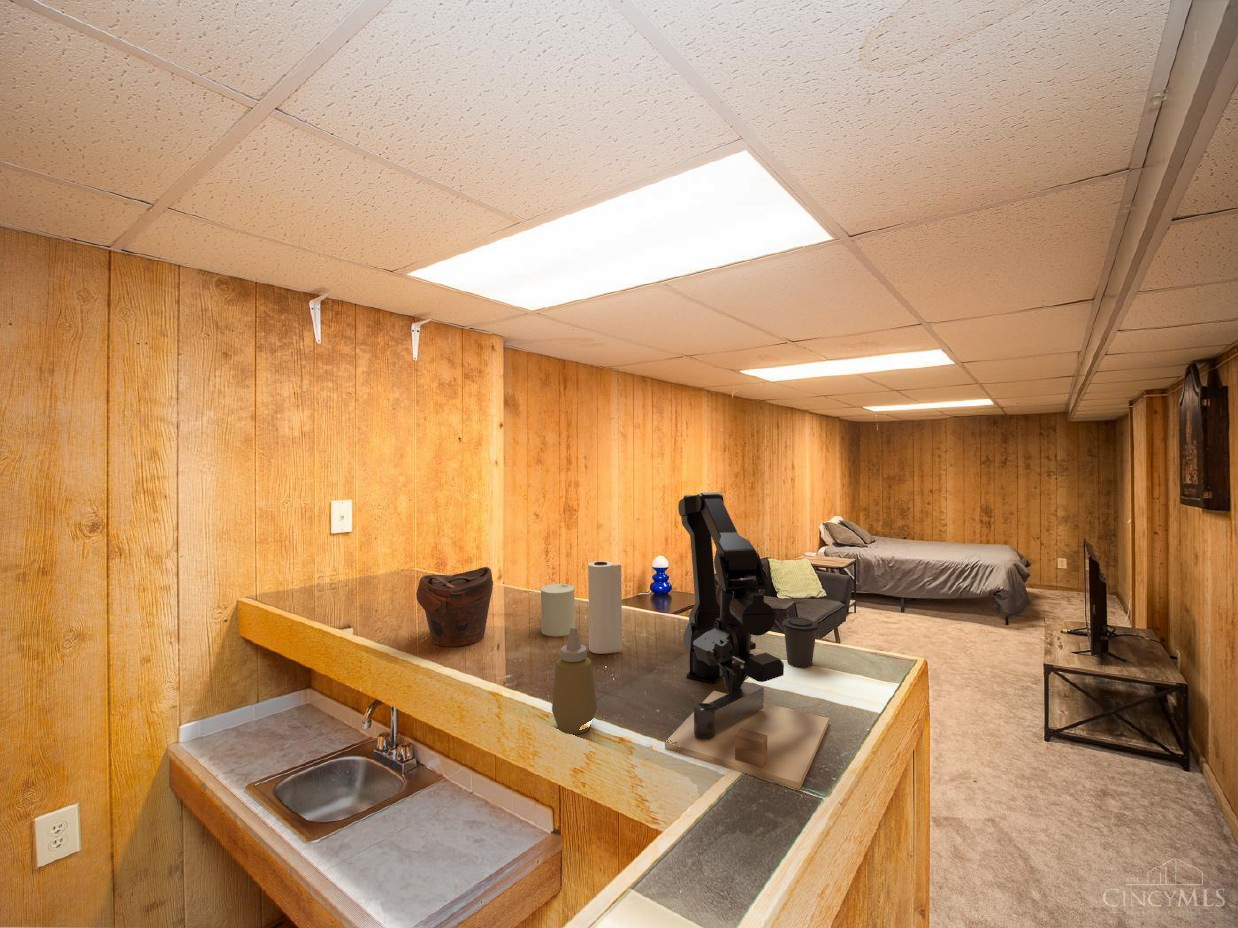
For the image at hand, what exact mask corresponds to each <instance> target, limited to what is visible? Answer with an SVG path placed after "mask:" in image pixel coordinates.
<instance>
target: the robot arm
mask: <svg viewBox="0 0 1238 928" xmlns="http://www.w3.org/2000/svg"><path fill="white" fill-rule="evenodd" d="M677 507H678V508H677V510H678V515H679V516H680V518H681V525H682V527H684V529H685V531H686V532H687V534H688V535H689V537H690V538H689V539H690V550H691V563H692V564H691V565H692V575H693V576H692V577H693V589H694V601H695V602H694V605H693V606H692V608H691V610H690V612H689V614H688V624H687V625H686V627H685V631H684V633H683V644H684V647H685V648H686V649H687V651H688V652H689V661H688V662H689V663H688V664H689V672H688V673H686V674H685V675H686V678H689V679H691V680H692V679H693V680H697V681H702V682H706V683H708V684H709V683H710V684H715V683H716V682H717V681H718V680H719V679H721V677H722V676H723V677H724V682H725V684H726V687H727V692H728V694H729V693H731V692H734V691H736V690H738V689H740V688H742V685H743V684H744V682H745V680H746V678H747V677H748V678H751V679H752V680H754V681H756V682H758V683H759V682H760V683H764V682H767V681H771V680H774V679H777V678H780V677H782V676H784V672H785V670H784V669H785V665H784V662H783V661H782V660H781V658H779V657H776V656H774V655H772V654H770V653H768V652H762V653H760V654H759V653H758V654H757V653H755V652H752V651H753V650H755V649H756V646H757V644H756V642H754V641H752V636H757V637H758V636H763V635H765V634H767V633H769V632H770V631H771V630H772V628H773V627H774V625H775V620H776V614H775V612H774V609H773V607H772V606H770V604H768V603H767V602H766V601H765V596H764V594H763V593H762V592H760V591H761V590H768V586H767V581H768V577H767V574H766V571H765V567H764V565H763V562H762V559H761V556H760V554H759V553H758V551H757V550H756V549H755V547H754V545H753V544H752V543H751V541H749V539H746V538H745V537H743V536H741V535H740V534H739V532H738V530H737V528H736V525H734V524H735V523H733V520H732V517H731V515H730V514H729V511H728V509H727V508H726V506H725V501H724V496H723V494H722V493H719V492H699V493H698V494H695V495H694V494H686V495H683V497H682V498H681V499H680V500H679V501H678V506H677ZM712 541H713V542H712ZM713 544H714V546H715V549H716V550H715V554H714V552H713ZM715 573H716V576H717V579H718V582H719V585H720V588H721V589H720V604H719V602H718V597H717V588H716V587H717V586H716V576H715ZM754 578H755V579H754ZM759 590H760V591H759Z"/></svg>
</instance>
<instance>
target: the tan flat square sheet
mask: <svg viewBox="0 0 1238 928" xmlns="http://www.w3.org/2000/svg"><path fill="white" fill-rule="evenodd" d="M727 694H728V693H726V692H720V691H716V690H713V691H711V693H710V694H709V695H708V696H707V697H706V698H705V699H704V700H703V701H702V702H701V703H707V704H708V703H710V702H712V701H714V700H717V699H719V698H721V697H723V696H725V695H727ZM829 724H830V718H829V717H825V716H821V715H817V714H813V713H808V712H804V711H801V710H797V709H792V708H788V707H783V706H779V705H775V704H771V703H767V702H764V708H763V709H761V710H759V711H757V712H756V713H754V714H752V715H750V716H748V717H746V718H744V719H742V720H740V721H738V722H737V723H735V724H733V725H731V726H729V727H727V728H725V729H723V730H721V731H719V732H718V733H716V734H715V736H714V737H713V738H711V739H701V738H698V737H696V736H695V735H694V711H693V712H692V713H691V714H690V715H689V716H688V717H686V719H685V720H684V721H683V722H682V723H681V724H680V725H679V727H678V728H676V730H675V731H674V732H673V733H672V734H671V735H670V736H669V737H668V738H667V739H668V740H669V741H668V740H667V739H666V740H665V741H666V742H667V741H668V742H670V740H671V741H672V742H673V743H674V742H678V743H677V744H678V746H677V744H676V745H673V744H671V743H672V742H670V743H666V742H665V741H664V748H665V749H667V750H670V751H674V752H678V753H680V754H683V755H686V756H689V757H693V758H696V759H700V760H703V761H705V762H709V763H712V764H716V765H719V766H722V767H726V768H728V769H732V770H736V771H739V772H741V773H744V774H748V775H751V776H755V777H758V778H761V779H764V780H766V781H767V780H768V781H771V782H775V783H777V784H780V785H783V786H786V787H791V788H794V789H797V790H800V789H801V788H802V785H803V783H804V781H805V779H806V776H807V774H808V772H809V770H810V767H811V765H812V763H813V761H814V758H815V757H816V753H817V751H818V749H819V748H820V745H821V742H822V740H823V738H824V735H825V734H826V731H827V729H828V726H829ZM740 728H742V729H745V730H749V731H753V732H757V733H760V734H764V735H767V761H766V763H765V765H764V767H763V768H761V767H758V766H754V765H751V764H748V763H744V762H741V761H738V760H735V734H736V733H737V732H738V730H739V729H740ZM680 745H681V746H682V747H679V746H680ZM683 747H684V748H683Z"/></svg>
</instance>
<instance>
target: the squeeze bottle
mask: <svg viewBox="0 0 1238 928" xmlns="http://www.w3.org/2000/svg"><path fill="white" fill-rule="evenodd" d="M567 637H568V638H567V642H566V644H565V645H563V646H562V647H561V648H560V658H559V659H557V660H556V662H555V669H554V682H553V692H552V705H551V712H552V715H553V718H554V721H555V723H556V725H557V728H558V730H559V731H560V732H561V733H564V734H565V735H579V734H583V733H585V732H587V731H589V730H590V728H588V727H587V728H585V729H582V730H579V729H580V727H581V726H582V725H584V724H586V723H587V722H589V721H591V720H592V719H593V720H594V717H595V714H596V711H597V698H596V690H595V680H594V670H593V662H592V661H593V660H592V659H590V658H589V657H588V654H587V653H588V652H587V646H586V645H584V644H581V640H580V637H579V632H578V628H577V627H576V626H575V627H571V628H570V632H569V635H568V636H567Z"/></svg>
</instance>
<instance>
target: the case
mask: <svg viewBox="0 0 1238 928" xmlns="http://www.w3.org/2000/svg"><path fill="white" fill-rule="evenodd" d="M418 581H419V583H418V586H417V590H416V594H415V595H416V596H415V597H416V601H417V602H418V604H419V605H420V606H421V607H422V609H423V610H424V612H425V617H426V621H427V625H428V630H429V634H430V638H431V642H432V643H433V644H435V645H436V646H440V647H450V648H451V647H462V646H463V647H464V646H467V645H468V646H469V645H471V644H476V643H477V642H479V641H481V640H482V639H483V638H484V637H485V634H486V627H487V626H486V625H487V621H488V615H489V609H490V604H491V598H492V593H493V589H494V586H493V585H494V581H493V574H492V570H491V568H490V567H489V566H484V567H480V568H478V569H473V570H469V571H465V572H460V573H455V574H427V575H423V576H422V577H420V579H419V580H418Z"/></svg>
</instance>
